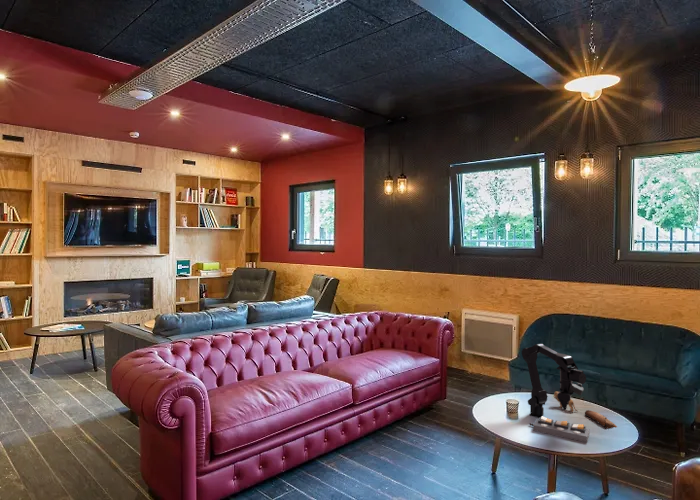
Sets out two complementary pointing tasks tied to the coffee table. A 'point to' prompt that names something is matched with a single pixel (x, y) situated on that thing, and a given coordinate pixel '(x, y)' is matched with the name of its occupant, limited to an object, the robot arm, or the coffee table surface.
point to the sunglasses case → (600, 419)
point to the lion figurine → (568, 404)
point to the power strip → (561, 430)
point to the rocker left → (545, 419)
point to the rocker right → (578, 426)
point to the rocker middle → (561, 423)
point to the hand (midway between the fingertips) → (566, 407)
